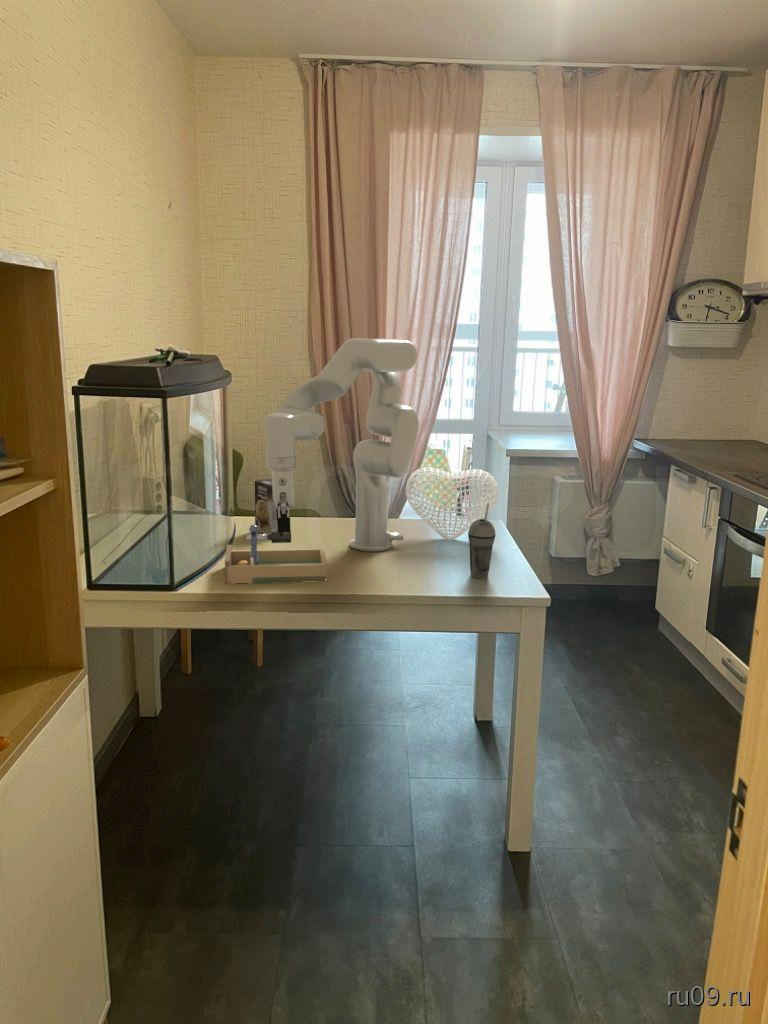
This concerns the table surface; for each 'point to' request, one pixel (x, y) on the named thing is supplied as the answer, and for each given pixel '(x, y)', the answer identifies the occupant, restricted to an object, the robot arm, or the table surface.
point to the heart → (448, 474)
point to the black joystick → (274, 537)
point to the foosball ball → (243, 563)
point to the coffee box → (265, 507)
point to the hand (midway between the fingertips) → (283, 526)
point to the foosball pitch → (276, 566)
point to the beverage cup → (481, 546)
